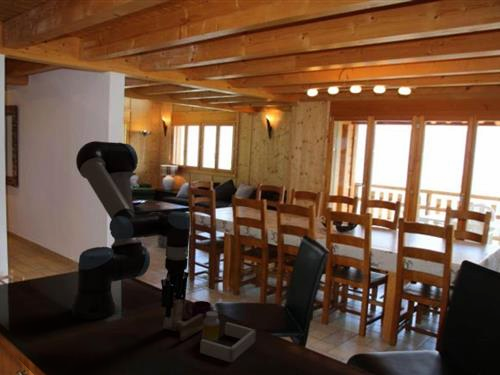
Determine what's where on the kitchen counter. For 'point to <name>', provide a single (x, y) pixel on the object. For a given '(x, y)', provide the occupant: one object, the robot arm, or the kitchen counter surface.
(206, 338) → the supplement bottle
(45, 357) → the kitchen counter surface
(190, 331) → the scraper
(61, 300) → the kitchen counter surface
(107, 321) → the kitchen counter surface
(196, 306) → the mug
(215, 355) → the corral
